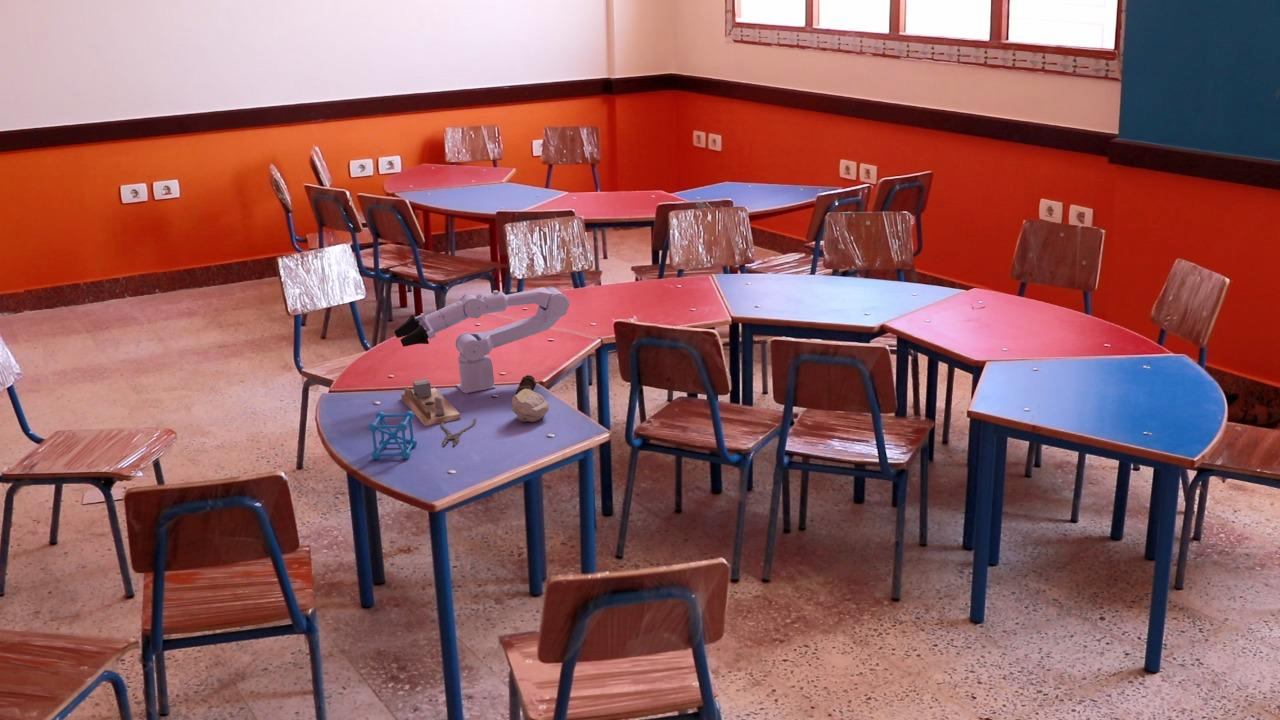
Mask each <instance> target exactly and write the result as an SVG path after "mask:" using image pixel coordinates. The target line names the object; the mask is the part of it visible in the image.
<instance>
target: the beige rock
mask: <svg viewBox="0 0 1280 720" xmlns="http://www.w3.org/2000/svg"><path fill="white" fill-rule="evenodd" d="M549 406H550V404H549V402H547V400H545V398H544V396H543V395H542V394H540V393H537V392H536V391H534V390H533V391H532V390H530V389H523V390H521V391H520V392H519V393H518V394H517V395H515V394H514V395H513V397H511V410H512V411H513V412H512V413H514V414H515V415H516V417H517V419H518V421H519V422H525V423H526V422H527V423H528V422H531V423H534V422H535V423H536V422H537V421H539V420H540V419H542V418H543V417H544V416H545V415H546V414H547V413H548V412H549V410H550V407H549Z"/></svg>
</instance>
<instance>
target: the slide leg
mask: <svg viewBox="0 0 1280 720" xmlns="http://www.w3.org/2000/svg"><path fill="white" fill-rule="evenodd" d="M412 386H413V387H412V388H413V392H414V394H415V395H416V397H417V398H424V397H429V396H431V388H432V386H431V382H430V381H429V379H428V378H423V379H418V380H414V381H412Z"/></svg>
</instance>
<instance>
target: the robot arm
mask: <svg viewBox="0 0 1280 720" xmlns="http://www.w3.org/2000/svg"><path fill="white" fill-rule="evenodd" d="M532 304H535V305H537V306H538V308H537V310H536V313H535V315H532V316H530V317H526V318H524V319H521V320H520V319H519V320H517V321H514V322H512V323H509V324H505V325H502V326H500V327H496V328H493V329H491V330H488V331H476V332H472V333H471V332H463V333H461V334H460V335H459V336H458V337H457V338H456V339H455V348H456V350H457V351H458V352H459V355H458V358H457V359H458V370H459V379H460V383H456V387H457V388H458V389H459V390H461V392H462V393H463V394H469V393H474V392H479V391H485V390H489V389H495V388H496V386H495V375H494V368H493V367H494V366H493V363H492V362H493V360H492V359H491V357H490V356H489V354H490V353H491V352H492V351H493V349H495V348H499V347H501V346H504V345H507V344H510V343H513V342H516V341H518V340H519V341H520V340H521V339H522V340H523V339H524V338H528V337H531V336H534V335H536V334H539V333H542V332H546V331H548V330H550V329H551V328H552V327H553V326H554V325H555V324H556V323H557V321H559V320H560V319H561V318H562V317H564V316H566V315H567V313H568V310H569V308H570V299H569V297H568V296H567V295H566V294H564V293H562V292H561V291H560V290H559V289H558V288H556V287H554V286H547V287H538V288H534V289H529V290H523V291H519V292H514V293H510V294H505V293H504V292H502V291H499V290H497V289H496V290H492V292H490V293H489V292H488V293H483V294H482V293H481V292H480V293H477V294H476V295H473V294H463V295H462V296H461V297H460V299H459V301H456V302H454V303H451V304H449V305H446V306H444V307H443V308H440V309H438V310H435V311H433V312H432V313H429V314H427V315H425V313H423V312H422V313H420V315H417V316H414V315H413V314H411V315H410V316H409V317H408V319H407V320H406V321H405V322H404V323H403V324H402V325H400V326H399V327H397V328H396V329H395V330H394V331H393V333H394V334H395V337H396V338H397V339H399V338H401V339H400V343H401V345H402V347H403V348H404V347H405V348H406V347H409V346H414V345H429V344H430V341H429V340H431V339H434V338H436V337H437V336H436V335H437V333H439V332H441V331H444V330H446V329H448V328H450V327H453V326H456V325H458V324H459V323H461V322H463V321H466V320H467V319H470V318H471V319H479V318H481V316H483V315H488V314H494V313H500V312H505V311H506V310H507V308H508V307H512V306H523V305H532Z"/></svg>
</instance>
